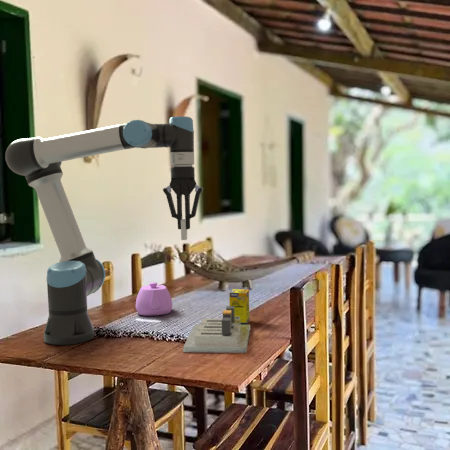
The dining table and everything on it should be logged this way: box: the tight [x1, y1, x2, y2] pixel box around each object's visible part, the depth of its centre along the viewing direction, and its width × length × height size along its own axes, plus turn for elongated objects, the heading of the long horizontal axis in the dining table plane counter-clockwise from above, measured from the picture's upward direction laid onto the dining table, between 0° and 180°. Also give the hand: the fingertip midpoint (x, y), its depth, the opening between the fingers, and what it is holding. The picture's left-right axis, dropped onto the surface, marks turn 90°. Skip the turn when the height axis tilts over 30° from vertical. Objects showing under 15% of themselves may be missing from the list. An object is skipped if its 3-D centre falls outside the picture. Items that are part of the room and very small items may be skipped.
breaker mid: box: [222, 309, 232, 325], centre depth 174 cm, size 2×3×4 cm
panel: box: [182, 318, 251, 354], centre depth 174 cm, size 18×24×4 cm
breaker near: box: [221, 317, 231, 334], centre depth 167 cm, size 2×3×4 cm
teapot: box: [135, 282, 173, 316], centre depth 208 cm, size 13×20×11 cm
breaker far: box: [225, 305, 235, 321], centre depth 180 cm, size 2×3×4 cm
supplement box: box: [228, 288, 250, 325], centre depth 193 cm, size 6×6×11 cm
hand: (184, 239), depth 185 cm, fingers closed
